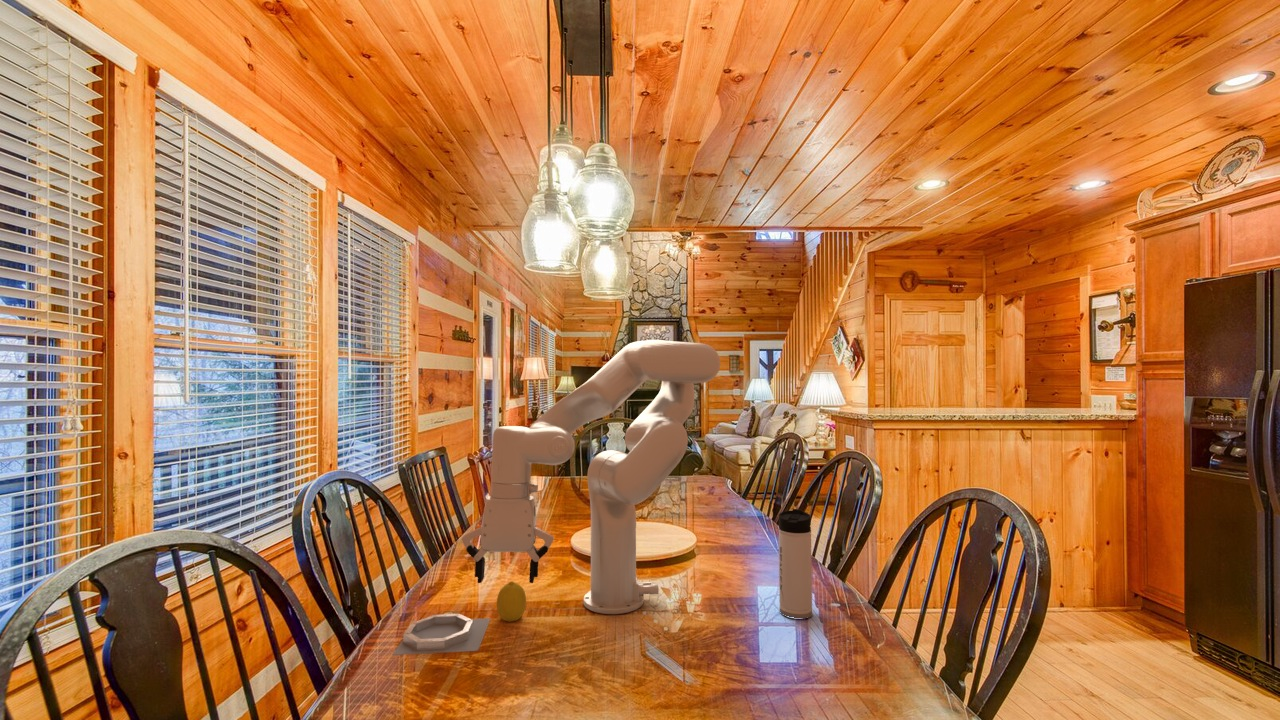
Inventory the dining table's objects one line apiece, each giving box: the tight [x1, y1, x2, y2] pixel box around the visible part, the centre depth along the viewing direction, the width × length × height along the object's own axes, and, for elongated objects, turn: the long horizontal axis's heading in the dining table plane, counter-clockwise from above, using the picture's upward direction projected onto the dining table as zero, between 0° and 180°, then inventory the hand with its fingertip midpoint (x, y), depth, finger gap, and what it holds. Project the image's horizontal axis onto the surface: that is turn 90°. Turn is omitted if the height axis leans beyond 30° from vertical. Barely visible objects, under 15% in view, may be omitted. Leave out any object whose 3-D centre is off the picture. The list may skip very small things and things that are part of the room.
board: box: [392, 617, 491, 656], centre depth 101 cm, size 14×13×1 cm
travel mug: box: [778, 508, 813, 618], centre depth 113 cm, size 6×7×20 cm
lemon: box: [496, 581, 527, 623], centre depth 109 cm, size 6×6×8 cm
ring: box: [402, 613, 473, 651], centre depth 101 cm, size 11×11×2 cm
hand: (506, 580), depth 108 cm, fingers open, 9 cm apart
